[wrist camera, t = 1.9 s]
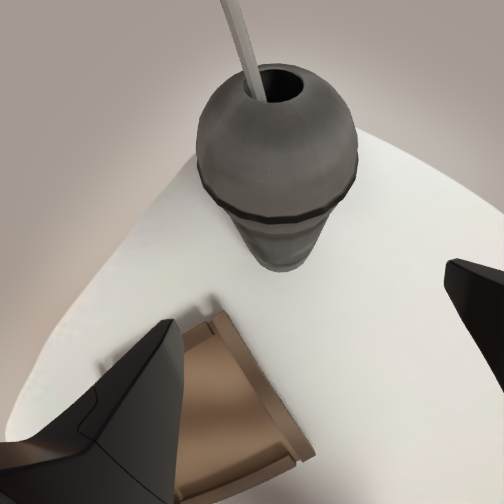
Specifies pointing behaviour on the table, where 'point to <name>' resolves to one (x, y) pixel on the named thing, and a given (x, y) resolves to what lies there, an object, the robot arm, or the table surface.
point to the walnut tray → (230, 419)
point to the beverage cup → (275, 152)
